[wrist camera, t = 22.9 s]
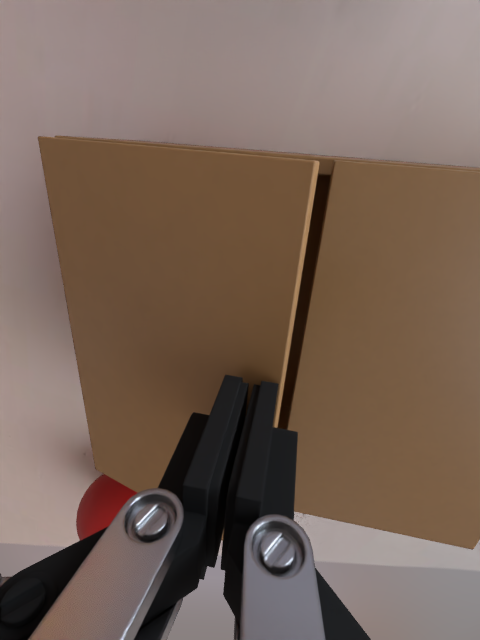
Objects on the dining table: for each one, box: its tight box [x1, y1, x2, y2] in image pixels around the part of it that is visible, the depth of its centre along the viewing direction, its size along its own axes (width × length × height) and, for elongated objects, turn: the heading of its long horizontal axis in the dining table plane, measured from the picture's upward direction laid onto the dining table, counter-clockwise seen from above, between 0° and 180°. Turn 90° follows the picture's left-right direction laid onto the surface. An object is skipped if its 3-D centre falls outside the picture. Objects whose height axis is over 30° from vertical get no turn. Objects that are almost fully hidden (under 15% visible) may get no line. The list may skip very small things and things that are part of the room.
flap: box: [38, 136, 319, 540], centre depth 13 cm, size 9×15×1 cm, turn 176°
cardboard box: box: [55, 136, 480, 549], centre depth 16 cm, size 18×15×7 cm
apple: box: [76, 474, 137, 541], centre depth 25 cm, size 6×6×7 cm
